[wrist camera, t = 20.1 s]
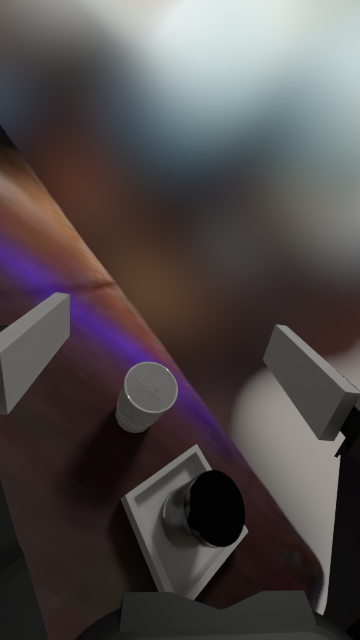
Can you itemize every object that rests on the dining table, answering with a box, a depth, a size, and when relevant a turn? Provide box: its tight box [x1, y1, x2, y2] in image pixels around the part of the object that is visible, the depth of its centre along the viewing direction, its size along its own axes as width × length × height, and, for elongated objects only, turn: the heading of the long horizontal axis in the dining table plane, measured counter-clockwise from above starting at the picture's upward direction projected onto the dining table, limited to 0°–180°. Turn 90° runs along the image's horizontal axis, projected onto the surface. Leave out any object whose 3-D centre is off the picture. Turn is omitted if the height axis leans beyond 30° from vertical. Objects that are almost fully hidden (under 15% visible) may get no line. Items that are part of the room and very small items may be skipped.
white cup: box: [115, 362, 178, 433], centre depth 38 cm, size 8×8×10 cm
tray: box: [121, 444, 248, 600], centre depth 33 cm, size 13×13×3 cm
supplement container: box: [161, 470, 245, 549], centre depth 30 cm, size 7×7×10 cm
